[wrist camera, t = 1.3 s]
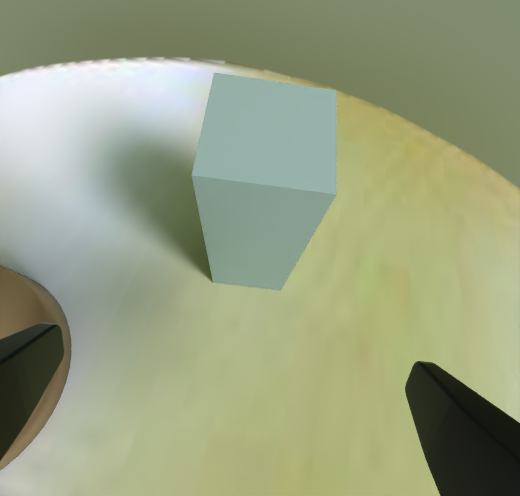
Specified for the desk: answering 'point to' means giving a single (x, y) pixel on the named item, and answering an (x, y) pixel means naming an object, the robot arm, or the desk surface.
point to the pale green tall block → (263, 176)
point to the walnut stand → (19, 318)
